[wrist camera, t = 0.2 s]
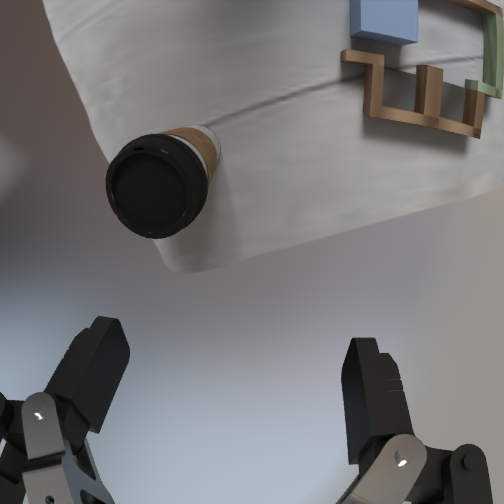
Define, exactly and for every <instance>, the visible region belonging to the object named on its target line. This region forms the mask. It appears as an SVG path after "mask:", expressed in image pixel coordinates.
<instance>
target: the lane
mask: <svg viewBox="0 0 504 504" xmlns="http://www.w3.org/2000/svg"><path fill="white" fill-rule="evenodd" d="M447 1H450V2H453V3H455V4H458V5H461V6H463V7H465V8H468V9H470V10H473V11H475V12H477V13H480V14H482V15H483V25H484V65H483V82H480V81H475V80H468V79H466V80H465V88H463V87H460V86H456V85H453V84H450V83H446V82H443V69H440V68H437V67H433V66H429V65H417V70H416V75H415V74H411V73H406V72H402V71H397V70H392V69H387V68H384V55H380V54H375V53H369V52H363V51H356V50H349V49H345V50H343V51H341V62H348V63H356V64H363V65H366V66H365V87H364V103H363V114H365V115H367V116H370V117H376V118H383V119H389V120H396V121H402V122H407V123H413V124H418V125H423V126H428V127H433V128H437V129H442V130H446V131H451V132H455V133H459V134H463V135H467V136H471V137H474V138H478V139H480V134H481V127H482V120H483V112H484V102H485V95H486V96H489V97H493V98H498V99H502V91H503V74H504V26H503V10H502V8H500V7H498V6H496V5H494V4H492V3H490V2H488V1H486V0H447Z"/></svg>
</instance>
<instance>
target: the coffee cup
mask: <svg viewBox="0 0 504 504" xmlns="http://www.w3.org/2000/svg"><path fill="white" fill-rule="evenodd" d="M219 156H220V143H219V141H218V138H217V137H216V135H215V134H214V133H213V132H212V131H211V130H210V129H208V128H206V127H204V126H200V125H190V126H186V127H183V128H178V129H174V130H170V131H166V132H162V133H158V134H149V135H144V136H141V137H139V138H137V139H135V140H133V141H131V142H129V143H128V144H127V145H126V146H124V147H123V148H122V150H121V151H120V152H119V153H118V155H117V156H116V157H115V158H114V159H113V161H112V162H111V163H110V165H109V168H108V170H107V175H106V192H107V197H108V200H109V203H110V205H111V207H112V209H113V211H114V213H115V215H116V216H117V218H118V219H119V220H120V221H121V222H122V223H123V224H124V226H126V227H127V228H128V229H130V230H131V231H132V232H134V233H136V234H138V235H140V236H143V237H146V238H152V239H161V238H166V237H169V236H172V235H174V234H176V233H177V232H179V231H180V230H181V229H183V228H185V227H187V226H188V225H189V224H190V223H191V222H192V221H194V219H195V218H196V217H197V215H198V214H199V213H200V211H201V210H202V208H203V206H204V204H205V202H206V197H207V193H208V187H209V184H210V182H211V179H212V176H213V173H214V170H215V167H216V164H217V162H218V159H219Z"/></svg>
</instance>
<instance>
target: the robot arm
mask: <svg viewBox="0 0 504 504" xmlns="http://www.w3.org/2000/svg"><path fill="white" fill-rule="evenodd" d="M129 358H130V348H129V345H128V342H127V340H126V337H125V334H124V332H123V329H122V326H121V323H120V321H119V320H118V319H116V318H109V317H103V316H98V317H97V318H96V319H95V320H94V322H93V323H92V325H91V327H90V328H85V329H84V330H83V331H81V332H80V333H79V334H78V335H77V336H76V337H75V338H74V340H73V341H72V343H71V345H70V346H69V350H67V351H66V353H65V355H64V358H63V359H62V360H61V362H60V363H59V365H58V367H57V368H56V370H55V372H54V374H53V376H52V377H51V379H50V381H49V383H48V385H47V387H46V388H45V390H44V391H43V392H37V393H34V394H32V395H30V396H29V397H28V398H27V399H26V400H25V401H19V400H7V399H6V398H5V397H4V395H3V394H2V393H1V392H0V443H1V441H2V438H3V439H4V440H5V441H6V444H5V447H4V449H3V452H2V454H1V457H0V504H23V500H24V496H25V493H27V497H28V500H29V504H115V503H114V500H113V498H112V496H111V495H110V493H109V492H108V490H107V489H106V488H105V486H104V485H103V483H102V481H101V479H100V476H99V473H98V471H97V468H96V465H95V462H94V459H93V456H92V453H91V450H90V447H89V444H88V441H87V439H86V435H87V432H88V431H91V432H94V433H97V434H99V432H100V430H101V427H102V425H103V422H104V419H105V417H106V414H107V412H108V409H109V407H110V405H111V402H112V400H113V397H114V395H115V392H116V390H117V387H118V385H119V383H120V381H121V378H122V375H123V373H124V371H125V369H126V367H127V364H128V362H129ZM400 378H401V377H400V374H399V370H398V366H397V364H396V362H395V361H394V360H393V358H392V357H391V356H390V355H389V353H379V349H378V346H377V342H376V339H375V338H352V339H351V342H350V345H349V348H348V351H347V354H346V357H345V360H344V363H343V367H342V373H341V383H342V392H343V401H344V411H345V422H346V434H347V446H348V460H349V465H350V464H351V465H352V464H359V474H358V475H357V477H356V478H355V479H354V481H353V482H352V483H351V485H350V486H349V487H348V489H347V490H346V491H345V492H344V494H343V495H342V496H341V497H340V499H339V500H338V501H337V502H336V504H402V503H403V502H404V501H409V502H412V504H493V500H492V492H491V485H490V479H489V473H488V467H487V462H486V457H485V455H484V453H483V451H482V450H481V449H480V448H479V447H478V446H475V445H473V444H465V445H461V446H459V447H458V448H457V449H456V450H454V451H450V450H442V449H436V448H431V447H428V446H426V445H424V444H423V443H422V441H421V440H419V439H418V438H417V437H416V436H415V434H414V432H413V429H412V424H411V419H410V415H409V410H408V406H407V402H406V398H405V393H404V391H403V385H402V381H401V380H400Z"/></svg>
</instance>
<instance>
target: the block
mask: <svg viewBox="0 0 504 504" xmlns="http://www.w3.org/2000/svg"><path fill="white" fill-rule="evenodd" d="M350 36H352V37H359V38H365V39H371V40H377V41H382V42H387V43H392V44H396V45H401V46H402V45H407V44H412V43H417V42H418V0H350Z"/></svg>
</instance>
